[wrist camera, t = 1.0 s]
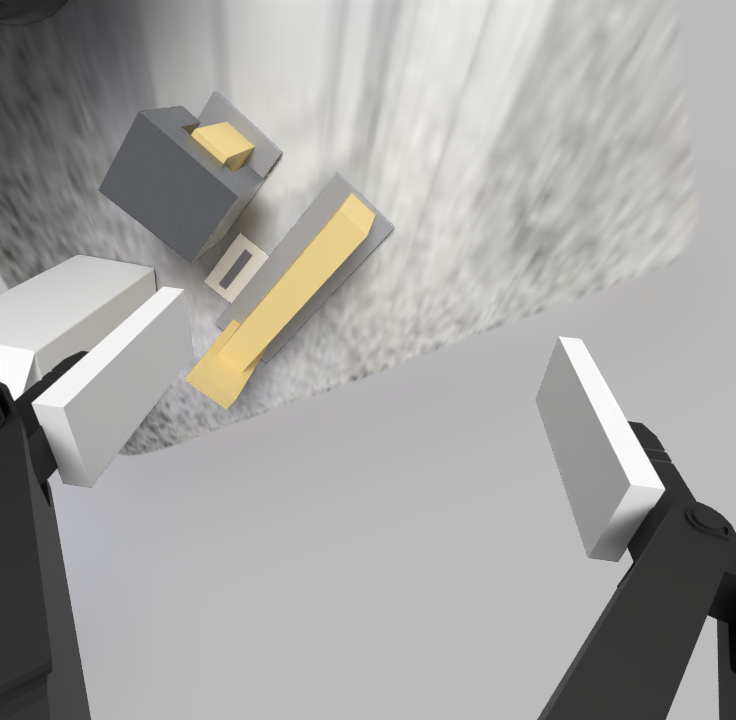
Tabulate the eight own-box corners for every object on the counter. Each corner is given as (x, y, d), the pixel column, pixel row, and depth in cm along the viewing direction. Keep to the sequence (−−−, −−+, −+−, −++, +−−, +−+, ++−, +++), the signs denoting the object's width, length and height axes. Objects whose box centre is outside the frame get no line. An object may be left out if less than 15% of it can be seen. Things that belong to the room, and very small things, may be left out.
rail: (216, 321, 44) (171, 373, 36) (337, 172, 36) (311, 198, 28) (267, 360, 45) (235, 418, 38) (394, 226, 37) (384, 265, 30)
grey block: (143, 174, 34) (98, 190, 30) (182, 106, 32) (139, 111, 27) (221, 239, 36) (191, 263, 32) (264, 179, 34) (238, 196, 29)
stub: (160, 186, 38) (117, 204, 33) (216, 91, 34) (178, 94, 29) (221, 237, 39) (190, 261, 34) (282, 152, 35) (257, 165, 30)
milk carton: (78, 253, 42) (-143, 365, 26) (155, 267, 42) (-19, 388, 25) (92, 322, 46) (-93, 458, 29) (163, 335, 45) (15, 479, 29)
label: (204, 281, 42) (203, 282, 41) (240, 232, 39) (239, 233, 39) (232, 302, 43) (231, 303, 42) (269, 256, 40) (268, 257, 40)
